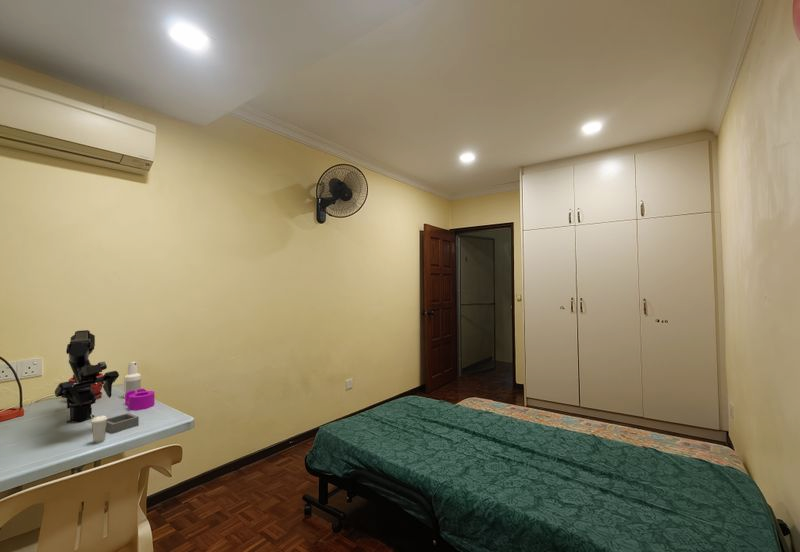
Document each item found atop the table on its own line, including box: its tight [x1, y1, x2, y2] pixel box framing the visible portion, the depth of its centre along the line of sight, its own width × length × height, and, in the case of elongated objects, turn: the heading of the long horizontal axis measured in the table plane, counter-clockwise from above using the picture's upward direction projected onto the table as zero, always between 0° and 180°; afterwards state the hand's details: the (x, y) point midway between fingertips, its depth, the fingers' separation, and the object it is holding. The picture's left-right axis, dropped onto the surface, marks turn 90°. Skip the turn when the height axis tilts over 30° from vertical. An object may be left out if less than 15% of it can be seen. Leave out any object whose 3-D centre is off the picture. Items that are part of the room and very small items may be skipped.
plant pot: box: [68, 372, 104, 400], centre depth 177 cm, size 13×13×12 cm
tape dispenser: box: [124, 388, 156, 412], centre depth 168 cm, size 16×10×6 cm, turn 50°
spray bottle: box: [123, 361, 142, 399], centre depth 181 cm, size 7×7×18 cm
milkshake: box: [90, 414, 108, 444], centre depth 130 cm, size 4×5×10 cm
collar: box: [106, 412, 139, 435], centre depth 142 cm, size 9×9×4 cm
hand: (96, 401), depth 135 cm, fingers open, 9 cm apart
